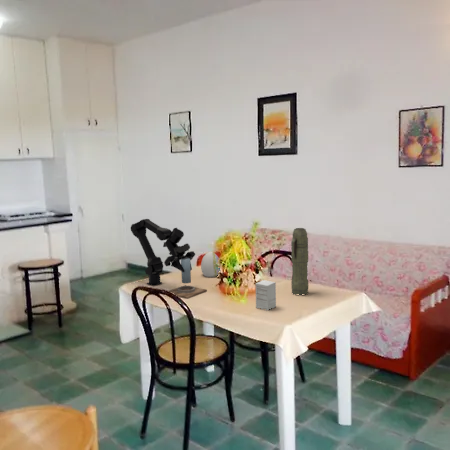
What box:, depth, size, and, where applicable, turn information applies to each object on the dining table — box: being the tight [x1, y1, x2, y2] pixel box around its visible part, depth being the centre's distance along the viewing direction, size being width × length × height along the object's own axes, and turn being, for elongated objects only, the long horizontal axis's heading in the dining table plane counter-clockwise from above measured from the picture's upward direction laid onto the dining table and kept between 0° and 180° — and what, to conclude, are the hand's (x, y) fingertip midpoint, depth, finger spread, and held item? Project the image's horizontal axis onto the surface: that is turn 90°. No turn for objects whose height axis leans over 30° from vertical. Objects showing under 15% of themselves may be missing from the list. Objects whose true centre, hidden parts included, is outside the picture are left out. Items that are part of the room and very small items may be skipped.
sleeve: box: [180, 258, 192, 284], centre depth 267 cm, size 5×5×13 cm
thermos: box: [290, 227, 309, 296], centre depth 260 cm, size 9×12×35 cm
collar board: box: [169, 284, 208, 300], centre depth 268 cm, size 16×16×2 cm
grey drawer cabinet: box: [255, 279, 277, 311], centre depth 239 cm, size 7×7×13 cm
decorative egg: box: [200, 251, 221, 278], centre depth 303 cm, size 12×12×15 cm
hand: (187, 270), depth 266 cm, fingers closed on sleeve, 5 cm apart
